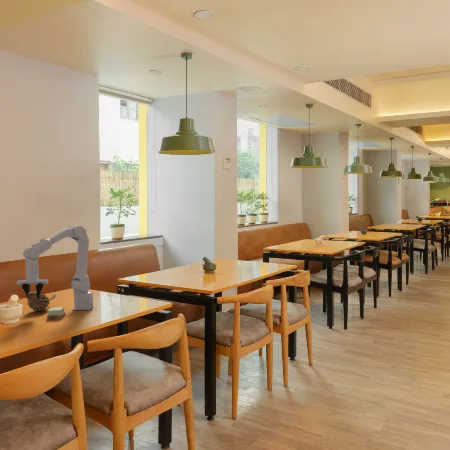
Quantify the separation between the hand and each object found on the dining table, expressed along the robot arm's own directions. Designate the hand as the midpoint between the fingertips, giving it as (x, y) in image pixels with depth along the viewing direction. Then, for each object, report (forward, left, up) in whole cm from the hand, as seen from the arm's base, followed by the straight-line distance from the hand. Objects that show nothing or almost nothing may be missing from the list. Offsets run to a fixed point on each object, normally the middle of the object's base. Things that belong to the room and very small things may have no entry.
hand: (33, 298), depth 238 cm
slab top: (-11, +1, -8) cm, 13 cm away
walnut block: (0, 0, -2) cm, 2 cm away
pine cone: (+1, -17, -10) cm, 20 cm away
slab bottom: (-11, +1, -10) cm, 15 cm away
